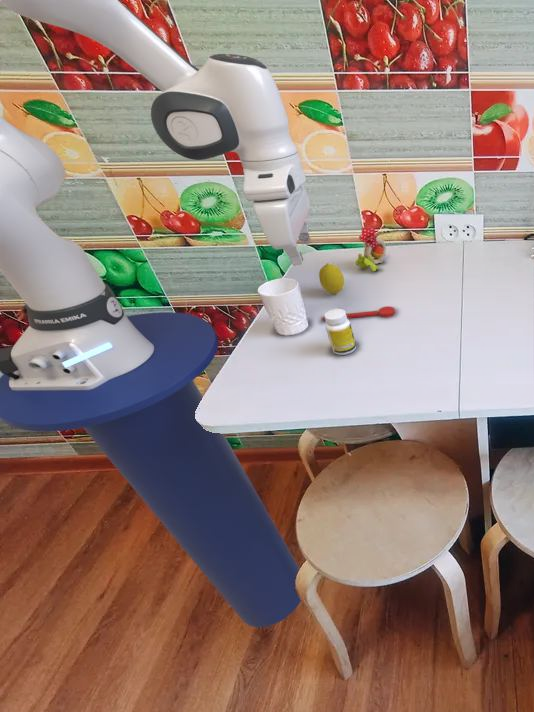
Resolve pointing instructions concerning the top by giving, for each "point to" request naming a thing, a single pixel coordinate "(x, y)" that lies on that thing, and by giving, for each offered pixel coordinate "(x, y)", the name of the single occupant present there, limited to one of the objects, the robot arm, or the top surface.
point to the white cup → (284, 305)
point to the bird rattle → (371, 249)
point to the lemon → (331, 278)
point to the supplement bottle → (339, 332)
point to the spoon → (373, 313)
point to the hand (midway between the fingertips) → (302, 252)
